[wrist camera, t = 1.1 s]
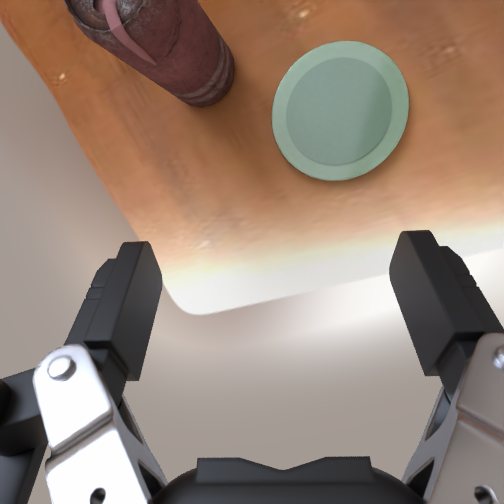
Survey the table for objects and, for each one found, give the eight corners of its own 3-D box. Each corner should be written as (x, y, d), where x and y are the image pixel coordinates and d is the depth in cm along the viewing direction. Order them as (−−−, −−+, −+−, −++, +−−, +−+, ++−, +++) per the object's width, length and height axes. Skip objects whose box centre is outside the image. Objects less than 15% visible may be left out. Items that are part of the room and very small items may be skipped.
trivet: (305, 25, 28) (304, 20, 27) (433, 72, 27) (436, 68, 26) (253, 152, 31) (251, 150, 30) (367, 201, 29) (368, 201, 28)
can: (189, 123, 32) (83, 64, 18) (162, 58, 31) (34, -50, 18) (247, 91, 30) (177, 1, 17) (219, 23, 30) (125, -125, 16)
